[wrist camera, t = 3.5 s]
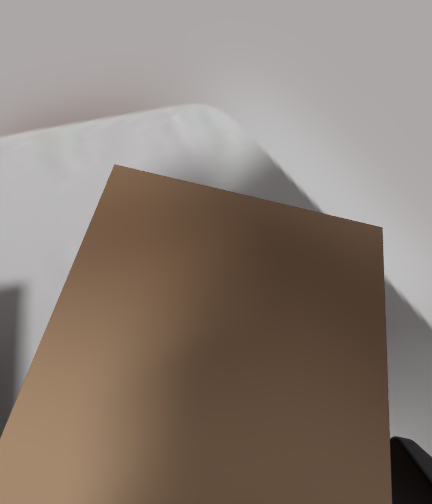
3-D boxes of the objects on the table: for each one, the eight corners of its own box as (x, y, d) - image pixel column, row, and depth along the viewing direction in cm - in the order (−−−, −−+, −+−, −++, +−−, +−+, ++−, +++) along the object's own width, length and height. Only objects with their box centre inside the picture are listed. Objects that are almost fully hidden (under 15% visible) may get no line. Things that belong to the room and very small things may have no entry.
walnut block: (229, 456, 15) (394, 584, 4) (117, 432, 15) (-27, 500, 4) (246, 342, 17) (381, 227, 6) (149, 321, 17) (114, 164, 6)
